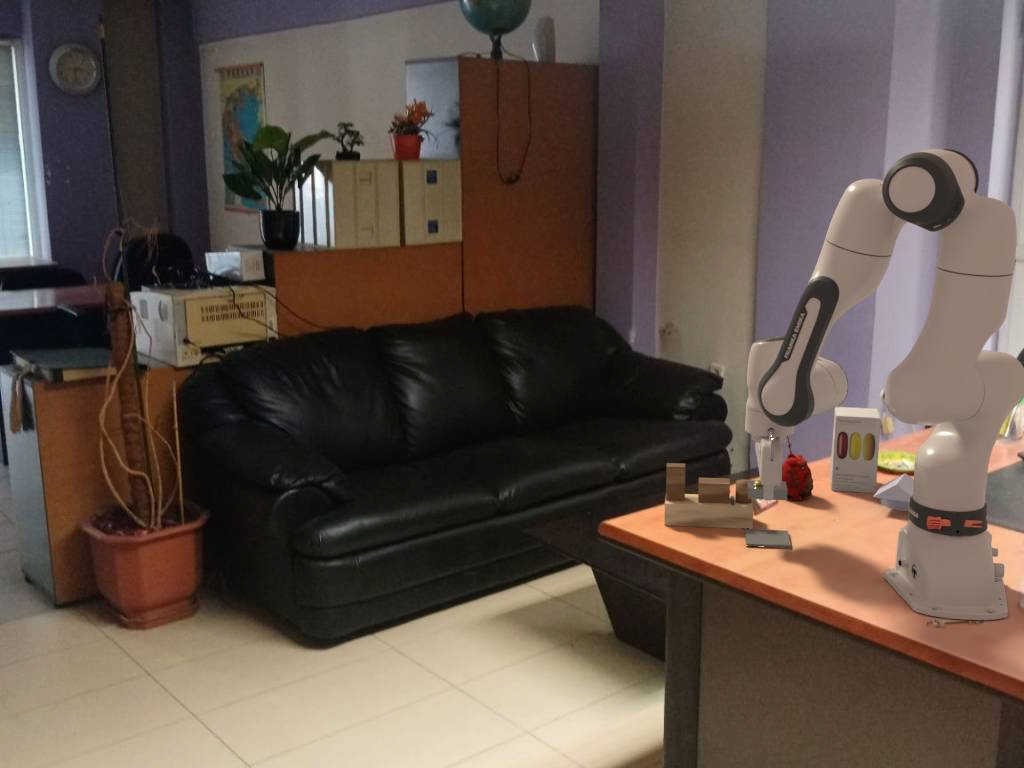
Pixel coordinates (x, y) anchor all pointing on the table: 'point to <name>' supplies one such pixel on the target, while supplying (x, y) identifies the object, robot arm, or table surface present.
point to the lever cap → (757, 490)
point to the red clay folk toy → (797, 477)
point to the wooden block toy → (706, 502)
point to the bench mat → (767, 538)
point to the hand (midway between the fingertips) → (767, 493)
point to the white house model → (896, 493)
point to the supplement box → (855, 449)
